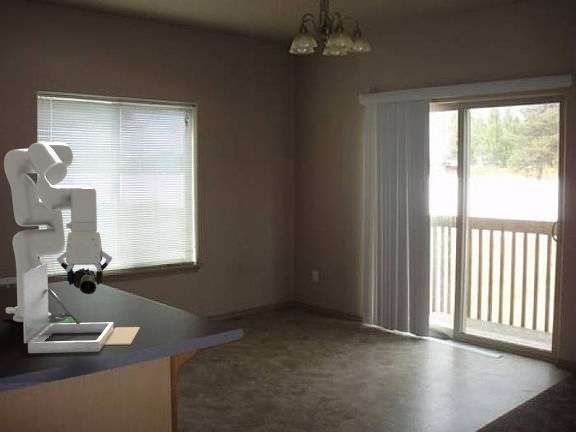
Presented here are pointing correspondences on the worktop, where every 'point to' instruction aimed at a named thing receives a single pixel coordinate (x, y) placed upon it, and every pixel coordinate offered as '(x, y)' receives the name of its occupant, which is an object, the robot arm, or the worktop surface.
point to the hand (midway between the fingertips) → (85, 283)
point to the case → (41, 328)
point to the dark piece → (85, 281)
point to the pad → (122, 336)
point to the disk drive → (61, 318)
